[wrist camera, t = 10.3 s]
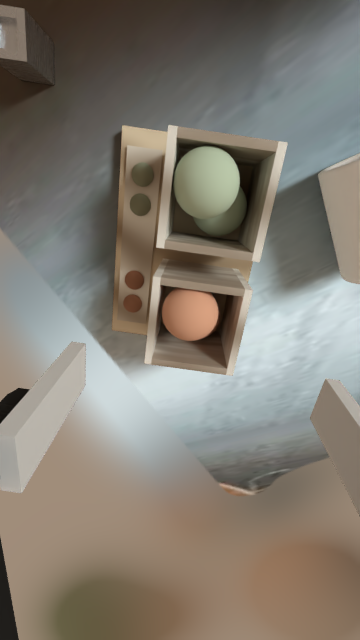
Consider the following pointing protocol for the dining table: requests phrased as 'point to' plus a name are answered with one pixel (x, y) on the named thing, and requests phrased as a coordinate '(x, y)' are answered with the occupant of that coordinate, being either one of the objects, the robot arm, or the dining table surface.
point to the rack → (187, 243)
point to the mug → (344, 213)
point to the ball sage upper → (206, 182)
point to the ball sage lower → (225, 218)
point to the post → (25, 47)
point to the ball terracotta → (189, 313)
